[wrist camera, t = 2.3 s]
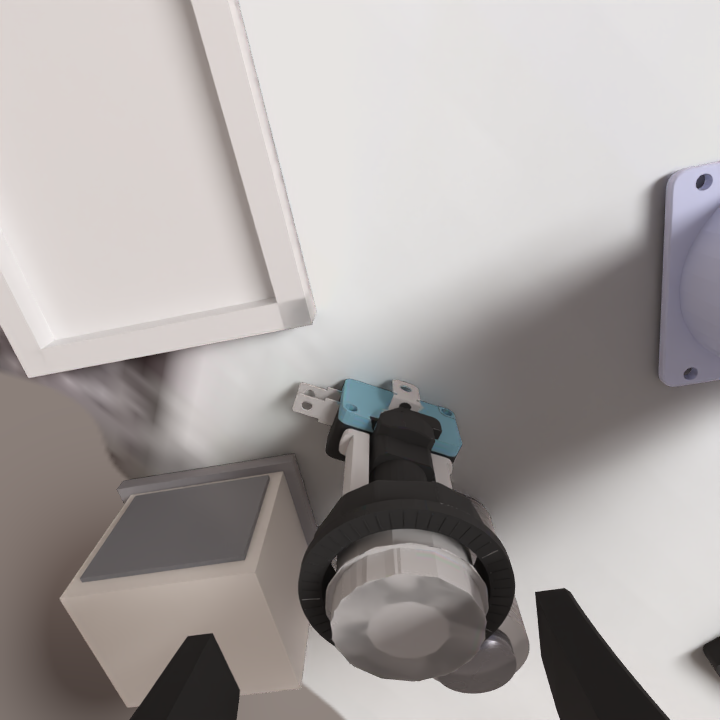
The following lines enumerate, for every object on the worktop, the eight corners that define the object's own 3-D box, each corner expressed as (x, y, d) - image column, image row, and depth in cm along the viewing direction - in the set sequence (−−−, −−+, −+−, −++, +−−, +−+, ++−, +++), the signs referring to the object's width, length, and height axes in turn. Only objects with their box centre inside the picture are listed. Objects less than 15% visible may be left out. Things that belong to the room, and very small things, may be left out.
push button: (283, 434, 21) (212, 661, 12) (319, 323, 19) (268, 495, 10) (428, 478, 22) (467, 724, 13) (478, 376, 20) (570, 581, 10)
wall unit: (294, 453, 21) (266, 561, 16) (329, 567, 24) (316, 694, 18) (123, 480, 22) (40, 592, 17) (175, 588, 25) (119, 715, 19)
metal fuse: (487, 487, 22) (530, 619, 16) (495, 554, 23) (537, 697, 17) (398, 500, 22) (407, 634, 16) (412, 565, 24) (425, 709, 18)
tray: (204, -131, 14) (186, -161, 12) (316, 311, 19) (312, 324, 17) (-142, -28, 15) (-196, -45, 13) (52, 361, 20) (28, 378, 18)
